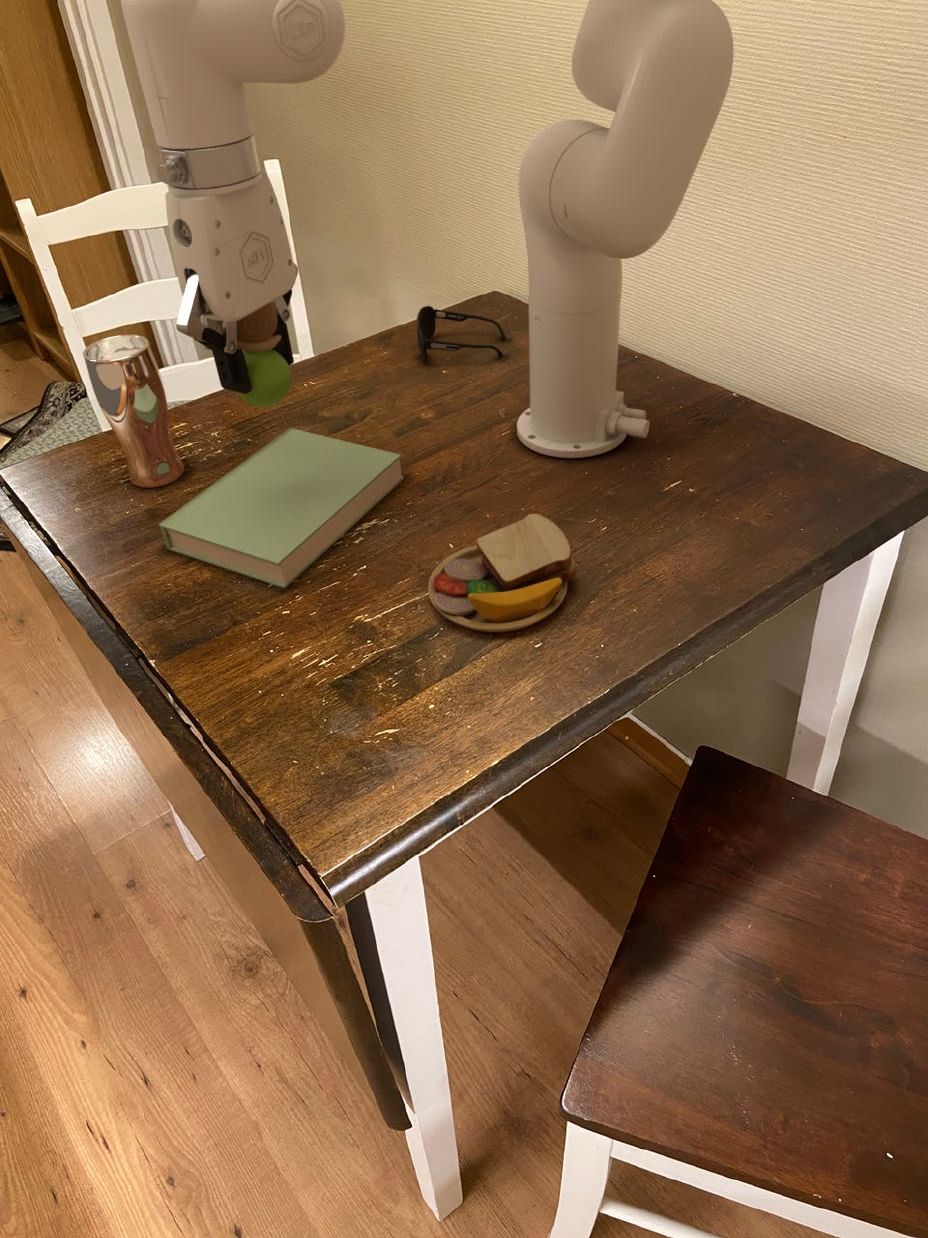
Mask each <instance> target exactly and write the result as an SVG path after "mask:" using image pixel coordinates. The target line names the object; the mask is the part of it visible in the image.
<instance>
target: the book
mask: <svg viewBox="0 0 928 1238" xmlns="http://www.w3.org/2000/svg"><path fill="white" fill-rule="evenodd" d="M401 458H402V454H401V453H396V452H391V451H387V450H383V449H380V448H375V447H371V446H366V445H362V444H359V443H354V442H350V441H346V440H343V439H342V440H341V439H339V438H338V439H337V438H334V437H329V436H325V435H321V434H317V433H313V432H308V431H304V430H300V429H296V428H293V427H288V429H286V430H285V431H284V432H282V433H281V434H279V435H278V436H277V437H275V438H274V439H272V441H270V442H269V443H267V444H266V445H264V446H263V447H262V448H261V449H259V450H258V451H256V452H254V454H252V455H251V456H249V457H248V458H247V459H245V460H244V461H242V463H240V464H239V465H237V466H236V467H235V468H233V469H232V470H231V471H229V472H228V473H227V474H225V475H224V476H222V477H221V478H220V479H218V480H217V481H216V482H214V483H213V484H211V485H210V486H209V487H207V488H206V489H205V490H203V491H202V492H201V493H199V494H197V496H194V498H193V499H191V500H190V501H188V502H187V503H185V504H184V505H183V506H181V507H180V508H179V509H178V510H176V511H175V512H174V513H172V514H171V515H169V516H168V517H166V519H164V520H162V521H161V522H160V523H158V527H159V529H160V531H161V535H162V538H163V541H164V544H165V547H166V549H167V550H169V551H171V552H175V553H177V554H181V555H183V556H186V557H190V558H193V559H195V560H198V561H202V562H204V563H207V564H210V565H213V566H217V567H219V568H222V569H225V570H228V571H231V572H234V573H236V574H240V575H243V576H246V577H249V578H252V579H254V580H258V581H261V582H263V583H267V584H269V585H272V586H276V587H278V588H281V589H286V588H287V587H288V586H289V585H290V584H291V583H293V582H294V580H296V579H297V578H298V577H299V576H300V575H301V574H303V573H304V571H305V570H306V569H307V568H309V567H310V566H311V565H312V564H313V563H314V562H315V561H317V559H318V558H319V557H321V556H322V555H323V554H324V553H325V552H326V551H327V550H328V549H329V548H331V546H332V545H334V544H335V543H336V542H337V541H338V540H339V539H340V538H341V537H342V536H344V535H345V533H346V532H348V531H349V530H350V529H351V528H352V527H353V526H354V525H356V523H358V522H359V521H360V520H361V519H362V518H363V517H364V516H365V515H366V514H367V513H368V512H370V511H371V509H373V508H374V507H375V506H376V505H377V504H379V502H380V501H381V500H383V498H384V497H386V496H387V495H388V494H390V492H391V491H392V490H394V488H395V487H397V486H398V485H399V484H400V483H401V482H402V481H403V480H404V478H405V477H404V476H403V474H402V467H401Z"/></svg>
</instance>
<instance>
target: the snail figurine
mask: <svg viewBox="0 0 928 1238" xmlns="http://www.w3.org/2000/svg"><path fill="white" fill-rule="evenodd" d="M217 328H218V333H220V334H221V335H223V325H222V322H219V321H217ZM276 328H277V315H276V312H275V310H274V308H273V307H272V305H271V304H270V303H269V304H268V305H266V306H264V307H262V308H261V309H259V310H257V311H255V312H254V313H252V314H250V315H248V316H246V317H244V318H243V319H241V320H238V321H237V349H239V350H243V352H244V356H245V360H246V365H247V369H248V373H249V378H250V382H251V386H252V389H251V391H250V392H249V393H247V394H243V393H239V392H236V393H237V395H238V396H239V397H240V398H241V399H242V400H243V401H244V402H245V403H247V404H248V405H251V406H253V407H257V408H269V407H273V406H276V405H277V404H279V403H280V402H282V401H283V400H284V399H285V398H286V397H287V395H288V394H289V392H290V389H291V386H292V381H293V380H292V372H291V371H292V370H291V367H290V366H289V365H288V363H287V362H286V360H285V359H284V358H283V357H282V356H281V355H280V354H279V353H278V352H276V351H274V350H272V349H273V348H274V347H275V346H276V345H277V344H278V343H279V341H280V340H281V336H280V335H275V336H272V335H273V334H274V332H275V330H276Z"/></svg>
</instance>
